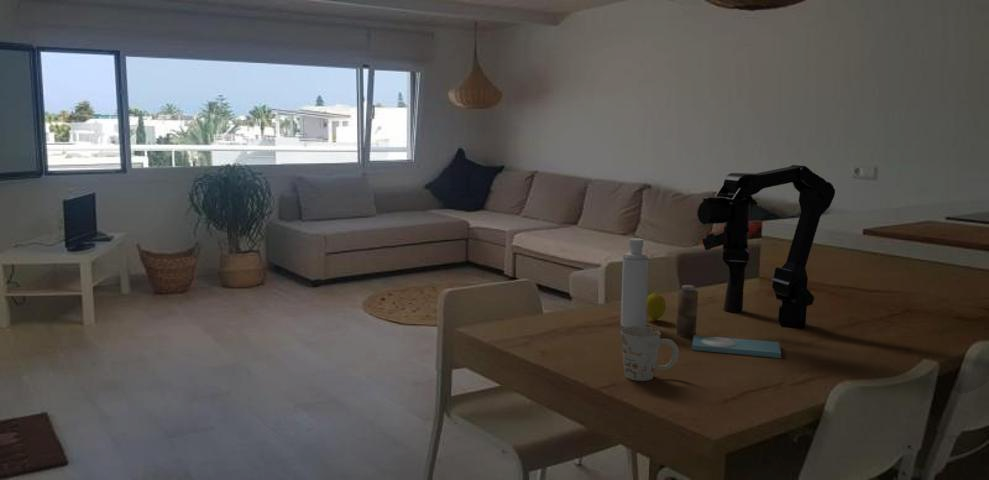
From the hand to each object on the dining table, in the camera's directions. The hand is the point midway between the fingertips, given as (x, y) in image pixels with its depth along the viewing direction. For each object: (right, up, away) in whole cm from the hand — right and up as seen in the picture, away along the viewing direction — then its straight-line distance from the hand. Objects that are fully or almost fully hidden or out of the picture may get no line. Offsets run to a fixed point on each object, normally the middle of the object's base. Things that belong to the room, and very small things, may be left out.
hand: (733, 282), depth 195 cm
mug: (-29, -18, -34) cm, 48 cm away
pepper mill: (-13, -13, -2) cm, 19 cm away
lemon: (-18, -11, +12) cm, 24 cm away
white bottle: (-25, -12, +6) cm, 28 cm away
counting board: (-4, -15, -13) cm, 21 cm away
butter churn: (+6, -10, +23) cm, 26 cm away
